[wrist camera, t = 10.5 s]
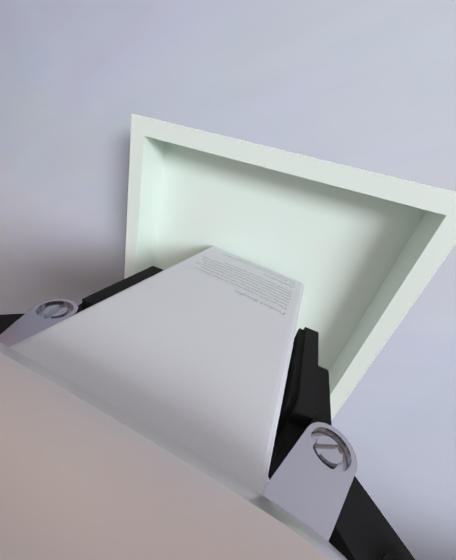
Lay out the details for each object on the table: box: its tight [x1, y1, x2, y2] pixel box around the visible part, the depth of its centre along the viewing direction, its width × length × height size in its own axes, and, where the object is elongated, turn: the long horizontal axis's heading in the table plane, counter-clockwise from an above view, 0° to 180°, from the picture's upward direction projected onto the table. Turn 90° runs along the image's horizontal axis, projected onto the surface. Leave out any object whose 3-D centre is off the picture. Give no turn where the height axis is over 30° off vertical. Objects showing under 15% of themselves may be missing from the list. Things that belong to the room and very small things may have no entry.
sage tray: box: [124, 114, 456, 421], centre depth 14 cm, size 15×15×2 cm
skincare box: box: [9, 246, 304, 496], centre depth 9 cm, size 6×4×12 cm
